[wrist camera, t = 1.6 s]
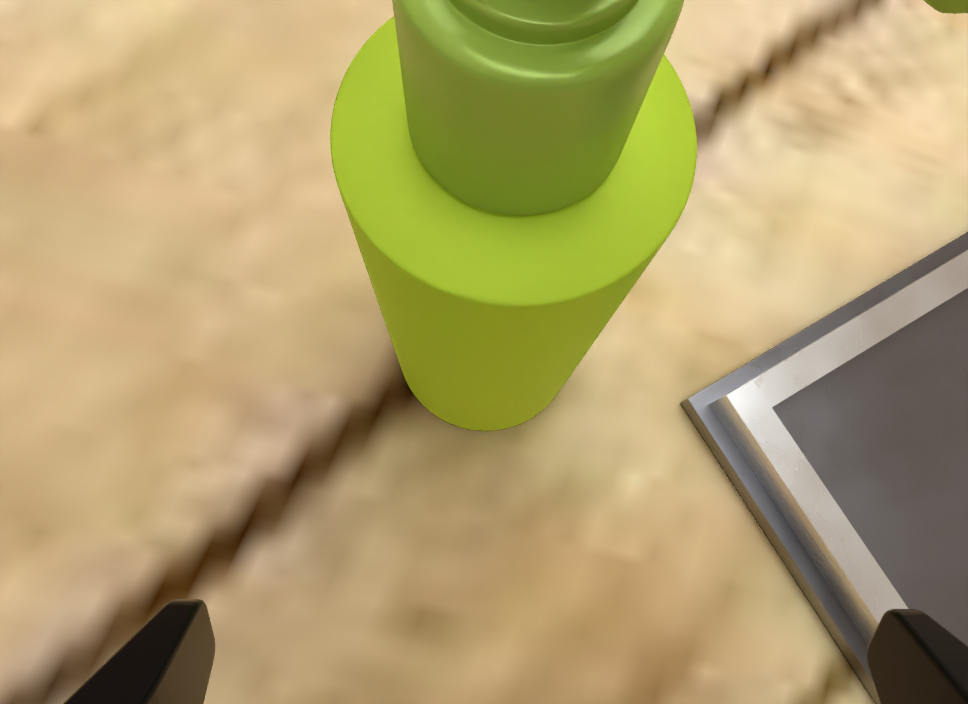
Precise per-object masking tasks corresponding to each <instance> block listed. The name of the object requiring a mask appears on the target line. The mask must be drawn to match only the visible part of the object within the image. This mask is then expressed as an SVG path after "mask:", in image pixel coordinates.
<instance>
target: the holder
mask: <svg viewBox="0 0 968 704" xmlns="http://www.w3.org/2000/svg"><path fill="white" fill-rule="evenodd" d="M681 405H682V406H683V408H684V409H685V411H686V413H687V414H688V416H689V417H690V419H691V420H692V422H693V423H694V425H695V426H696V428H697V429H698V431H699V433H700V434H701V436H702V437H703V439H704V440H705V442H706V443H707V445H708V446H709V448H710V449H711V451H712V453H713V454H714V456H715V457H716V459H717V460H718V462H719V463H720V465H721V466H722V468H723V469H724V471H725V473H726V474H727V476H728V477H729V479H730V480H731V482H732V483H733V485H734V486H735V488H736V490H737V491H738V493H739V494H740V496H741V497H742V499H743V500H744V502H745V503H746V505H747V506H748V508H749V510H750V511H751V513H752V514H753V516H754V517H755V519H756V520H757V522H758V523H759V525H760V526H761V528H762V530H763V531H764V533H765V534H766V536H767V537H768V539H769V540H770V542H771V543H772V545H773V546H774V548H775V550H776V551H777V553H778V554H779V556H780V557H781V559H782V560H783V562H784V563H785V565H786V566H787V568H788V570H789V571H790V573H791V574H792V576H793V577H794V579H795V580H796V582H797V583H798V585H799V586H800V588H801V590H802V591H803V593H804V594H805V596H806V597H807V599H808V600H809V602H810V603H811V605H812V606H813V608H814V610H815V611H816V613H817V614H818V616H819V617H820V619H821V620H822V622H823V623H824V625H825V626H826V628H827V630H828V631H829V633H830V634H831V636H832V637H833V639H834V640H835V642H836V643H837V645H838V646H839V648H840V650H841V651H842V653H843V654H844V656H845V657H846V659H847V660H848V662H849V663H850V665H851V666H852V668H853V670H854V671H855V673H856V674H857V676H858V677H859V679H860V680H861V682H862V683H863V685H864V686H865V688H866V690H867V691H868V693H869V694H870V696H871V697H872V699H873V700H874V702H875V703H876V704H880V701H879V698H878V695H877V692H876V689H875V686H874V683H873V680H872V676H871V673H870V670H869V667H868V663H867V647H868V645H869V642H870V640H871V638H872V636H873V634H874V632H875V630H876V628H877V626H878V624H879V622H880V620H881V618H882V616H883V614H884V613H885V612H886V611H888V610H889V609H916V610H920V611H922V612H924V613H926V614H927V615H929V616H930V617H931V618H933V619H934V620H935V621H936V622H938V623H939V624H940V625H942V626H943V627H944V628H945V629H947V630H948V631H949V632H951V633H952V634H953V635H954V636H956V637H957V638H958V639H960V640H961V641H962V642H963V643H965V644H966V645H967V646H968V232H967V233H965V234H964V235H962V236H960V237H959V238H957V239H955V240H954V241H952V242H950V243H949V244H947V245H945V246H944V247H942V248H940V249H939V250H937V251H935V252H934V253H932V254H930V255H928V256H927V257H925V258H923V259H922V260H920V261H918V262H917V263H915V264H913V265H912V266H910V267H908V268H907V269H905V270H903V271H902V272H900V273H898V274H897V275H895V276H893V277H891V278H890V279H888V280H886V281H885V282H883V283H881V284H880V285H878V286H876V287H875V288H873V289H871V290H870V291H868V292H866V293H865V294H863V295H861V296H859V297H858V298H856V299H854V300H853V301H851V302H849V303H848V304H846V305H844V306H843V307H841V308H839V309H838V310H836V311H834V312H833V313H831V314H829V315H828V316H826V317H824V318H822V319H821V320H819V321H817V322H816V323H814V324H812V325H811V326H809V327H807V328H806V329H804V330H802V331H801V332H799V333H797V334H796V335H794V336H792V337H791V338H789V339H787V340H785V341H784V342H782V343H780V344H779V345H777V346H775V347H774V348H772V349H770V350H769V351H767V352H765V353H764V354H762V355H760V356H759V357H757V358H755V359H754V360H752V361H750V362H748V363H747V364H745V365H743V366H742V367H740V368H738V369H737V370H735V371H733V372H732V373H730V374H728V375H727V376H725V377H723V378H722V379H720V380H718V381H716V382H715V383H713V384H711V385H710V386H708V387H706V388H705V389H703V390H701V391H700V392H698V393H696V394H695V395H693V396H691V397H690V398H688V399H686V400H685V401H683V402H681Z"/></svg>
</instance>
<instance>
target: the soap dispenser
mask: <svg viewBox="0 0 968 704" xmlns="http://www.w3.org/2000/svg"><path fill="white" fill-rule="evenodd" d="M392 1H393V10H394V16H393V17H392V18H391V19H390V20H388V21H387V22H386V23H385V24H384V25H382V26H381V27H380V28H379V29H378V30H377V31H376V32H375V33H374V34H373V35H372V36H371V37H370V38H369V39H368V41H367V42H366V43H365V44H364V45H363V47H362V48H361V49H360V51H359V52H358V53H357V55H356V56H355V58H354V59H353V61H352V63H351V64H350V66H349V68H348V70H347V72H346V74H345V76H344V78H343V80H342V83H341V85H340V88H339V91H338V94H337V97H336V101H335V104H334V109H333V114H332V121H331V135H330V141H331V156H332V163H333V168H334V173H335V177H336V181H337V184H338V187H339V190H340V193H341V196H342V199H343V202H344V205H345V208H346V211H347V214H348V216H349V219H350V222H351V225H352V228H353V231H354V234H355V237H356V239H357V242H358V245H359V248H360V251H361V254H362V257H363V260H364V263H365V265H366V268H367V271H368V274H369V277H370V280H371V283H372V286H373V289H374V291H375V294H376V297H377V300H378V303H379V306H380V309H381V312H382V315H383V317H384V320H385V323H386V326H387V329H388V332H389V335H390V338H391V341H392V343H393V346H394V349H395V352H396V355H397V358H398V361H399V364H400V367H401V369H402V372H403V375H404V378H405V380H406V382H407V384H408V386H409V388H410V389H411V391H412V392H413V394H414V395H415V397H416V398H417V399H418V400H419V401H420V403H421V404H422V405H423V406H424V407H425V408H427V409H428V410H429V411H430V412H431V413H433V414H434V415H436V416H437V417H439V418H440V419H442V420H444V421H446V422H448V423H450V424H452V425H455V426H458V427H461V428H465V429H470V430H477V431H494V430H501V429H506V428H510V427H513V426H516V425H519V424H521V423H523V422H525V421H527V420H529V419H531V418H532V417H534V416H535V415H537V414H538V413H540V412H541V411H542V410H543V409H544V408H545V407H546V406H548V404H549V403H550V402H551V401H552V400H553V399H554V398H555V396H556V395H557V393H558V392H559V391H560V389H561V388H562V386H563V385H564V384H565V382H566V381H567V379H568V378H569V376H570V375H571V374H572V372H573V371H574V369H575V368H576V366H577V365H578V364H579V362H580V361H581V359H582V358H583V357H584V355H585V354H586V352H587V351H588V349H589V348H590V347H591V345H592V344H593V342H594V341H595V340H596V338H597V337H598V335H599V334H600V332H601V331H602V330H603V328H604V327H605V325H606V324H607V323H608V321H609V320H610V318H611V317H612V315H613V314H614V313H615V311H616V310H617V308H618V307H619V305H620V304H621V303H622V301H623V300H624V298H625V297H626V296H627V294H628V293H629V291H630V290H631V288H632V287H633V286H634V284H635V283H636V281H637V280H638V279H639V277H640V276H641V274H642V273H643V271H644V270H645V269H646V267H647V266H648V264H649V263H650V262H651V260H652V259H653V257H654V256H655V254H656V253H657V252H658V250H659V249H660V247H661V246H662V244H663V243H664V242H665V240H666V239H667V237H668V236H669V234H670V233H671V232H672V230H673V228H674V227H675V225H676V223H677V222H678V220H679V218H680V216H681V214H682V212H683V210H684V208H685V205H686V203H687V200H688V197H689V194H690V191H691V188H692V184H693V180H694V174H695V168H696V157H697V140H696V129H695V123H694V118H693V113H692V110H691V106H690V103H689V100H688V97H687V94H686V92H685V89H684V87H683V85H682V83H681V81H680V79H679V77H678V75H677V73H676V72H675V70H674V68H673V67H672V65H671V64H670V62H669V61H668V59H667V58H666V56H665V55H664V52H665V50H666V47H667V45H668V43H669V40H670V38H671V36H672V33H673V31H674V28H675V26H676V23H677V21H678V18H679V15H680V13H681V10H682V6H683V3H684V0H392ZM924 1H925V2H926V3H927V4H929V5H930V6H931V7H933V8H934V9H935V10H937V11H939V12H942V13H953V14H957V13H968V0H924Z"/></svg>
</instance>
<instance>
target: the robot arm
mask: <svg viewBox="0 0 968 704" xmlns="http://www.w3.org/2000/svg"><path fill="white" fill-rule="evenodd" d="M214 655H215V638H214V634H213V630H212V626H211V622H210V618H209V614H208V609H207V606H206V604H205V603H204V601H202V600H199V599H175V600H172V601H170V602H168V603H167V604H166V605H164V606H163V607H162V608H161V609H160V610H159V611H158V612H157V613H156V614H155V615H154V616H153V617H152V618H151V619H150V620H149V621H148V622H147V623H146V624H145V625H144V626H143V627H142V628H141V629H140V630H139V631H138V632H137V633H136V634H134V635H133V636H132V637H131V638H130V639H129V640H128V641H127V642H126V643H125V644H124V645H123V646H122V647H121V648H120V649H119V650H118V651H117V652H116V653H115V654H114V655H113V656H112V657H111V658H110V659H109V660H108V661H107V662H106V663H105V664H103V665H102V666H101V667H100V668H99V669H98V670H97V671H96V672H95V673H94V674H93V675H92V676H91V677H90V678H89V679H88V680H87V681H86V682H85V683H84V684H83V685H82V686H81V687H80V688H79V689H78V690H77V691H76V692H75V693H74V694H72V695H71V696H70V697H69V698H68V699H67V700H66V701H65V702H64V703H63V704H203V703H204V699H205V695H206V690H207V686H208V682H209V677H210V673H211V669H212V665H213V660H214ZM867 663H868V667H869V670H870V673H871V676H872V680H873V683H874V686H875V689H876V692H877V695H878V698H879V701H880V704H968V646H967V645H966V644H965V643H963V642H962V641H961V640H960V639H958V638H957V637H956V636H954V635H953V634H952V633H951V632H949V631H948V630H947V629H945V628H944V627H943V626H942V625H940V624H939V623H938V622H936V621H935V620H934V619H933V618H931V617H930V616H929V615H927V614H926V613H924V612H922V611H920V610H916V609H889V610H888V611H886V612H885V613H884V614H883V616H882V618H881V620H880V622H879V624H878V626H877V628H876V630H875V632H874V634H873V636H872V638H871V640H870V642H869V645H868V647H867Z"/></svg>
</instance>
